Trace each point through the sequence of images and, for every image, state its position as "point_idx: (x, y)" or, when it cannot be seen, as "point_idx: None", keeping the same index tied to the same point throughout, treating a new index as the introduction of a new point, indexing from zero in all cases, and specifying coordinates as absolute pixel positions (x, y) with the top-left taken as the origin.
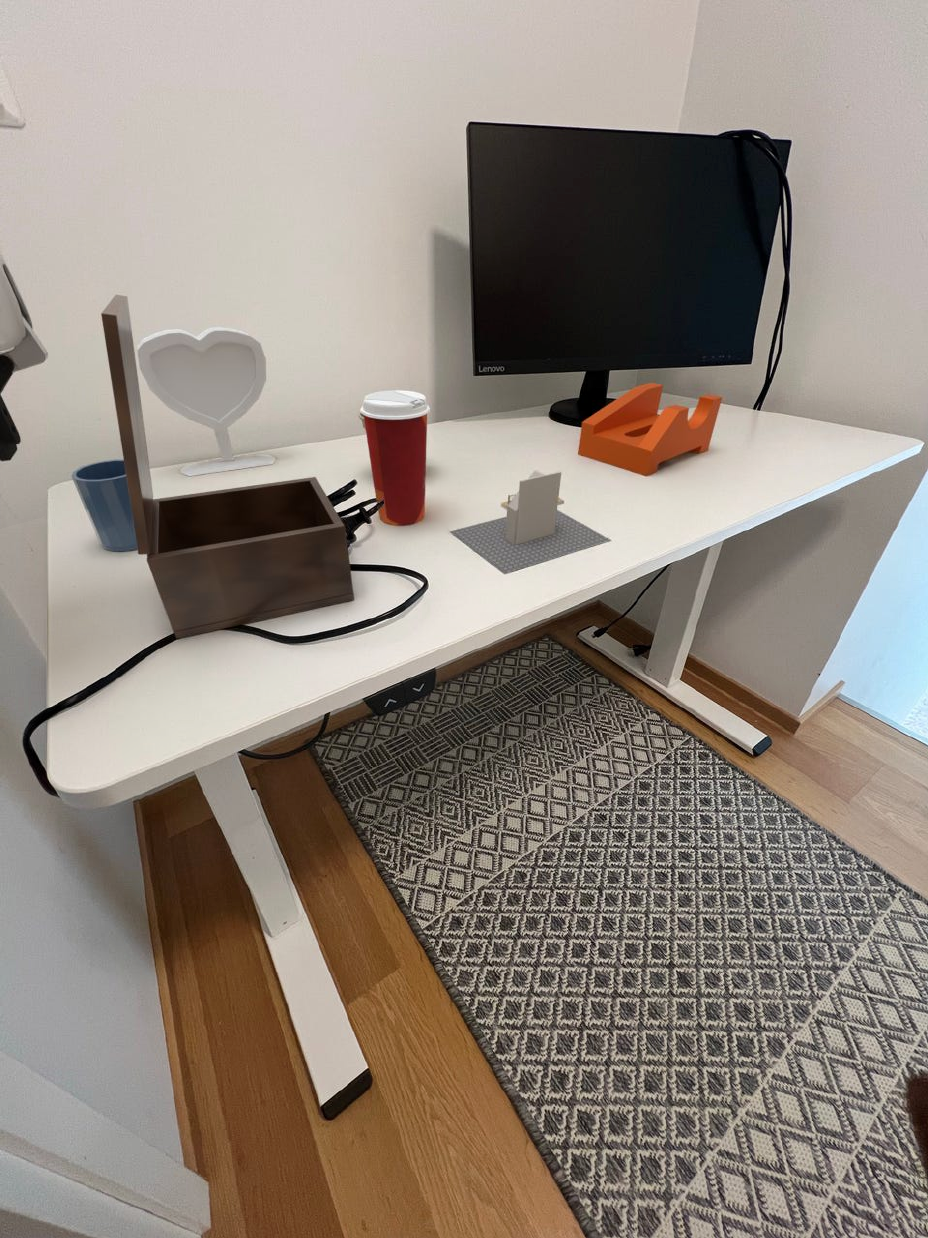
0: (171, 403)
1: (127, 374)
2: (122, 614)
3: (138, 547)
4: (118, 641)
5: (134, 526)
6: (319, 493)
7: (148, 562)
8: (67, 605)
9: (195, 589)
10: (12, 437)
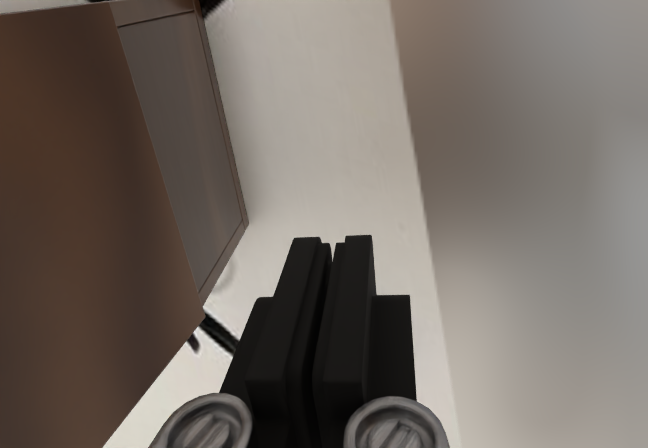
0: None
1: None
2: (307, 110)
3: (93, 3)
4: (296, 18)
5: (49, 8)
6: None
7: (109, 1)
8: (403, 170)
9: None
10: (257, 305)
